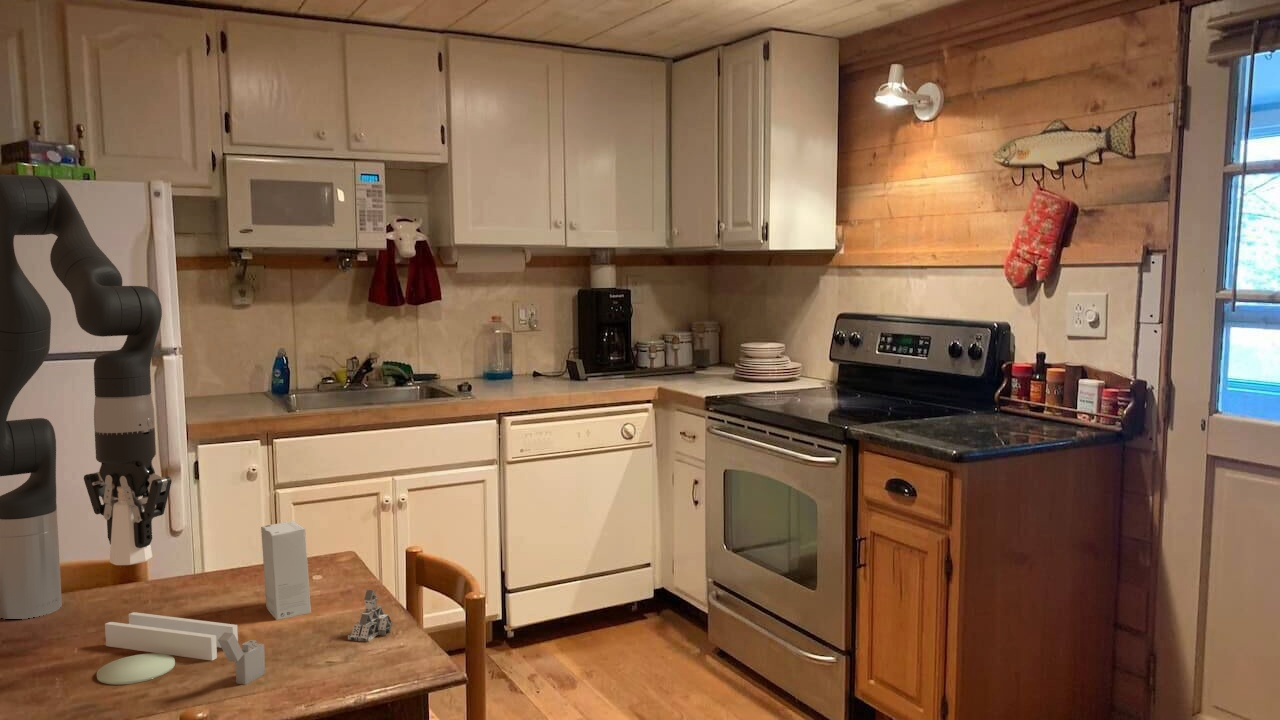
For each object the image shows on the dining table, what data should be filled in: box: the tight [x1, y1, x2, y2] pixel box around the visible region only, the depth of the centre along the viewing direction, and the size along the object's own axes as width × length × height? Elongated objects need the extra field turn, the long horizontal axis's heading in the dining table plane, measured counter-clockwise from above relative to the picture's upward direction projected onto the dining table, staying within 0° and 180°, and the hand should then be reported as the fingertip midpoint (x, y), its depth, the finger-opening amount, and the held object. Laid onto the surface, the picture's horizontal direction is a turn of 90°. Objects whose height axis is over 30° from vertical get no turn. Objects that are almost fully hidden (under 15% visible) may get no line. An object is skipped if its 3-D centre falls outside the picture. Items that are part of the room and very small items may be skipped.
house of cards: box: [347, 589, 393, 643], centre depth 148 cm, size 9×9×8 cm
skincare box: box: [260, 520, 312, 621], centre depth 160 cm, size 8×6×15 cm
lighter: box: [218, 632, 266, 685], centre depth 132 cm, size 7×2×8 cm, turn 161°
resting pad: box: [96, 652, 176, 686], centre depth 136 cm, size 10×10×1 cm
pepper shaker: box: [109, 486, 153, 566], centre depth 135 cm, size 5×5×11 cm
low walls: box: [104, 611, 239, 661], centre depth 145 cm, size 20×6×4 cm, turn 73°
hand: (130, 544), depth 135 cm, fingers closed on pepper shaker, 4 cm apart
